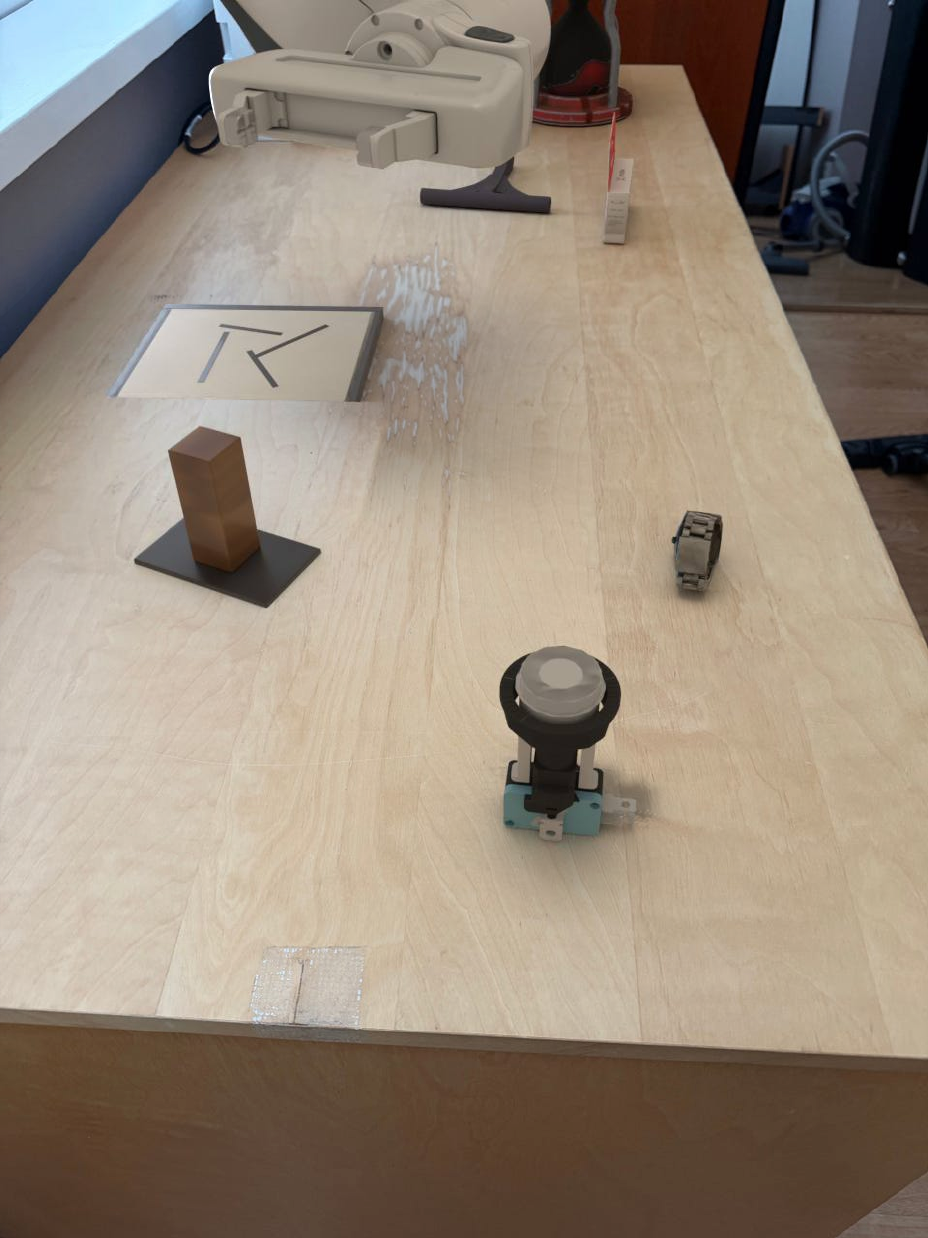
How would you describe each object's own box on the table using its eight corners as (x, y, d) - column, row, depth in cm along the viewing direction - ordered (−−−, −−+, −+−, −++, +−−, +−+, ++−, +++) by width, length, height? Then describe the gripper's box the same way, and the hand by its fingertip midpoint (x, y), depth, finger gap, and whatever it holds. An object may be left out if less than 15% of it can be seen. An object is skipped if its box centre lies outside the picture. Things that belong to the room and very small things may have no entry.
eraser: (140, 583, 66) (101, 448, 59) (198, 532, 70) (168, 400, 63) (270, 629, 62) (244, 490, 56) (324, 573, 66) (306, 437, 60)
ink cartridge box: (629, 206, 114) (638, 110, 108) (625, 245, 106) (634, 144, 100) (607, 205, 115) (614, 110, 108) (601, 244, 106) (608, 143, 100)
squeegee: (568, 169, 124) (569, 145, 122) (548, 214, 113) (549, 188, 111) (450, 163, 126) (450, 139, 124) (420, 207, 115) (418, 181, 113)
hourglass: (572, 135, 134) (584, -100, 117) (489, 108, 143) (490, -113, 126) (657, 110, 141) (679, -114, 125) (573, 86, 151) (584, -125, 134)
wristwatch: (713, 595, 66) (725, 518, 66) (703, 589, 61) (716, 505, 62) (666, 589, 67) (677, 513, 67) (652, 582, 63) (665, 500, 63)
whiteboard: (87, 440, 79) (83, 428, 78) (167, 313, 96) (165, 303, 95) (347, 446, 78) (346, 434, 77) (383, 317, 94) (383, 306, 94)
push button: (634, 784, 53) (654, 640, 46) (631, 871, 49) (653, 727, 42) (504, 771, 54) (506, 627, 47) (492, 856, 50) (492, 711, 43)
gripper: (274, 13, 70) (140, 63, 61) (556, 41, 63) (451, 101, 54) (287, 114, 74) (162, 175, 65) (552, 150, 67) (454, 224, 58)
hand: (295, 142), depth 59 cm, fingers open, 8 cm apart
